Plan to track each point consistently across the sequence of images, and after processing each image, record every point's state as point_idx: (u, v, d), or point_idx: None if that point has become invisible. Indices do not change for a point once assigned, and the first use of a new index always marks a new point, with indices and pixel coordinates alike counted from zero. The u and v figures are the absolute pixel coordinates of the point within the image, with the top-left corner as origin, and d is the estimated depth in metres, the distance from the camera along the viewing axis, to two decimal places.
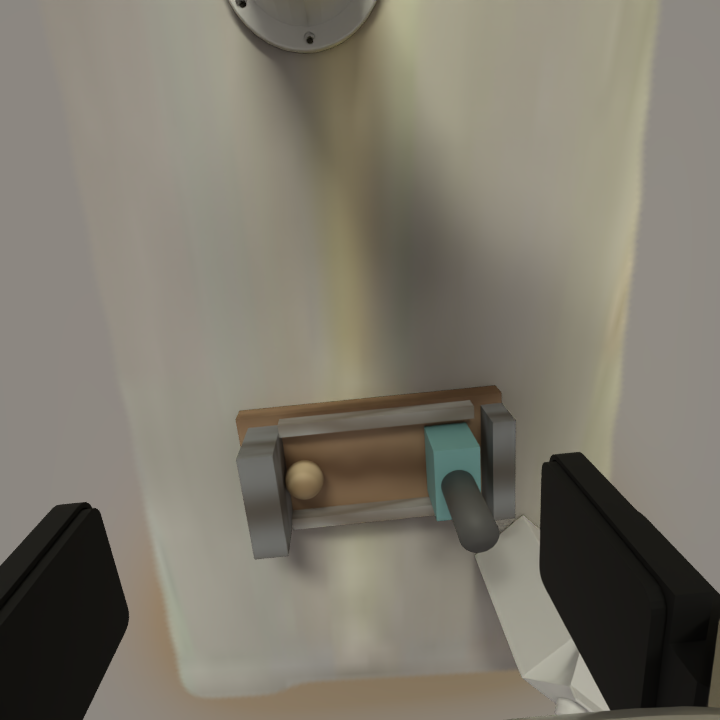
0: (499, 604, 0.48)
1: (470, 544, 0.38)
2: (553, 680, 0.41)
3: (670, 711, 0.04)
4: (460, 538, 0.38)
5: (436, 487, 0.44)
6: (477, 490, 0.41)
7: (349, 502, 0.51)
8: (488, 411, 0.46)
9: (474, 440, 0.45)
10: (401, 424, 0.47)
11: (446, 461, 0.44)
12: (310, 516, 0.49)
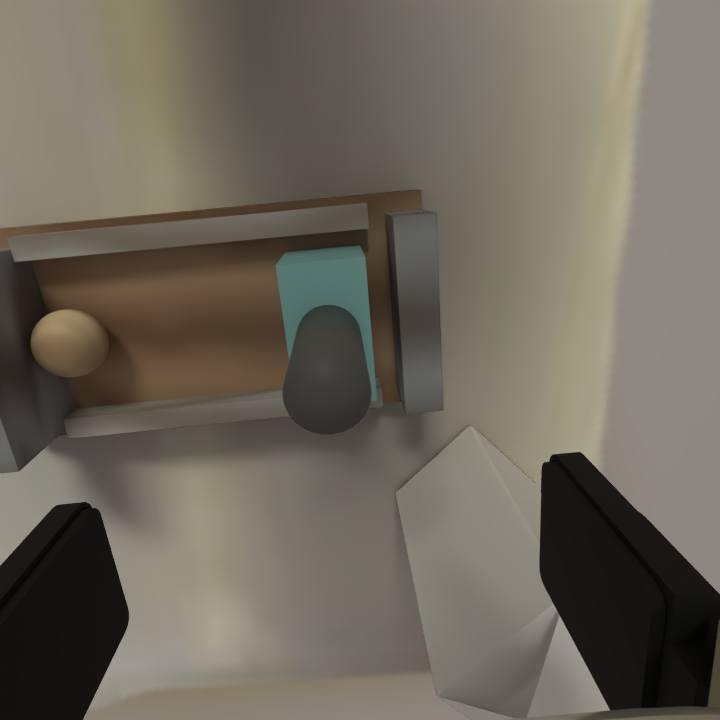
0: (418, 562, 0.28)
1: (308, 414, 0.17)
2: (498, 703, 0.21)
3: (670, 711, 0.04)
4: (285, 399, 0.17)
5: (288, 340, 0.24)
6: (349, 326, 0.21)
7: (170, 395, 0.30)
8: (393, 214, 0.26)
9: (360, 253, 0.24)
10: (237, 238, 0.26)
11: (303, 286, 0.23)
12: (96, 414, 0.29)
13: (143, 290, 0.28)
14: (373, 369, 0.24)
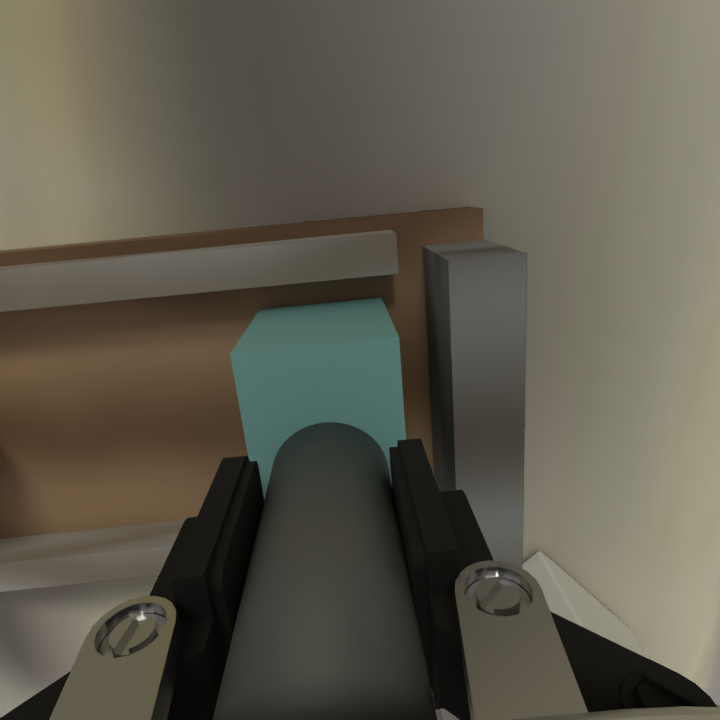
0: None
1: None
2: None
3: (670, 711, 0.04)
4: None
5: None
6: (372, 495, 0.10)
7: (84, 525, 0.19)
8: (441, 250, 0.15)
9: (387, 325, 0.13)
10: (175, 291, 0.15)
11: (282, 390, 0.12)
12: None
13: (31, 369, 0.17)
14: None
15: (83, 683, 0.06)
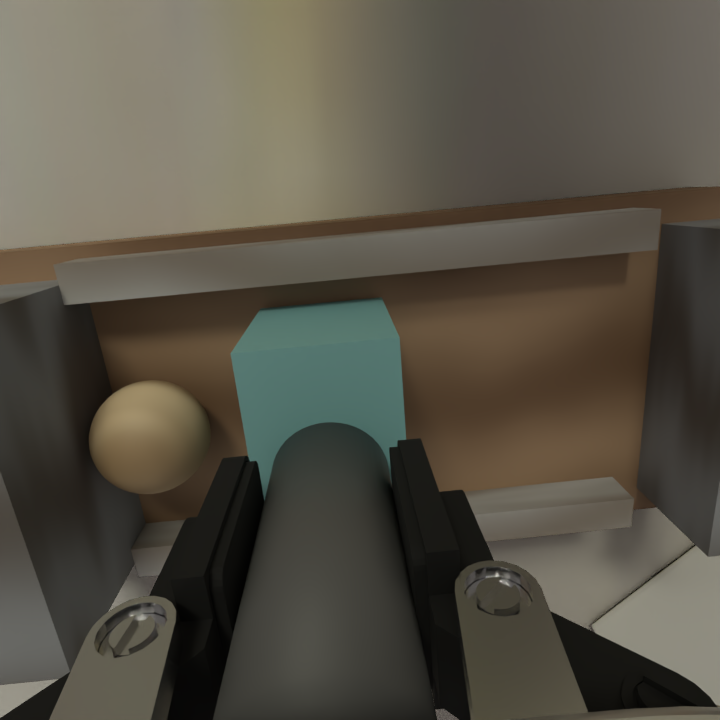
0: None
1: None
2: None
3: (670, 711, 0.04)
4: None
5: None
6: (372, 495, 0.10)
7: None
8: (705, 225, 0.15)
9: (387, 325, 0.13)
10: (438, 266, 0.15)
11: (283, 390, 0.12)
12: None
13: None
14: None
15: (83, 683, 0.06)
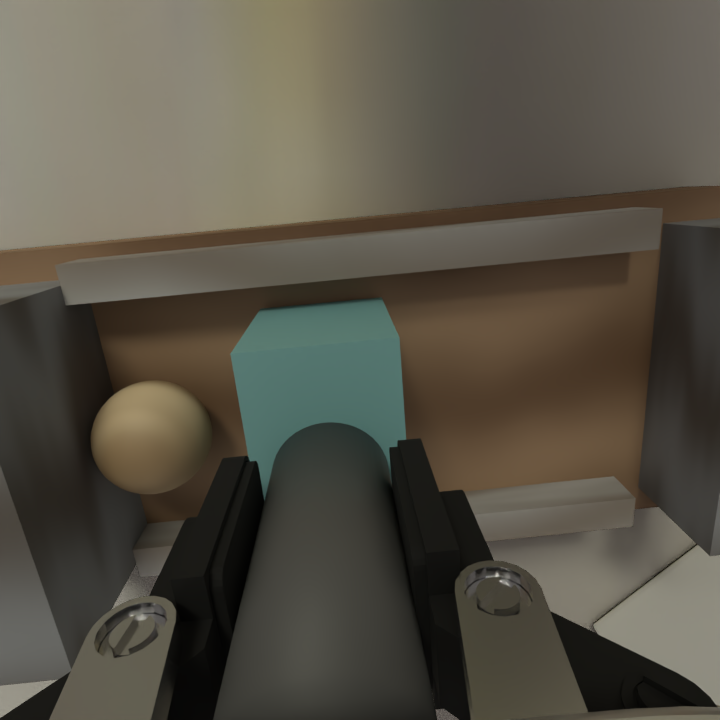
0: None
1: None
2: None
3: (670, 711, 0.04)
4: None
5: None
6: (373, 495, 0.10)
7: None
8: (706, 225, 0.15)
9: (387, 325, 0.13)
10: (439, 266, 0.15)
11: (283, 391, 0.12)
12: None
13: None
14: None
15: (83, 683, 0.06)
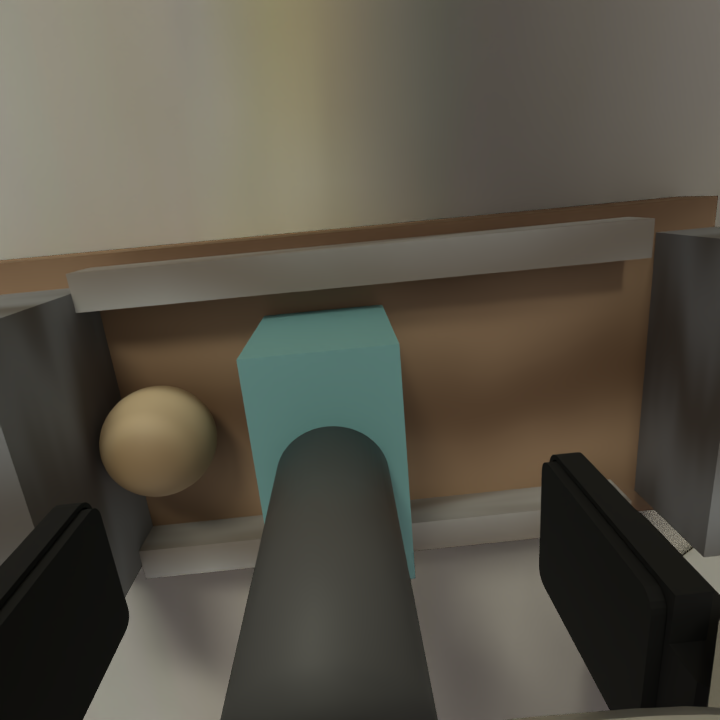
0: None
1: None
2: None
3: (670, 711, 0.04)
4: None
5: (261, 485, 0.13)
6: (373, 495, 0.10)
7: None
8: (697, 234, 0.16)
9: (388, 332, 0.14)
10: (438, 274, 0.16)
11: (287, 395, 0.13)
12: (189, 542, 0.19)
13: None
14: (410, 529, 0.14)
15: None
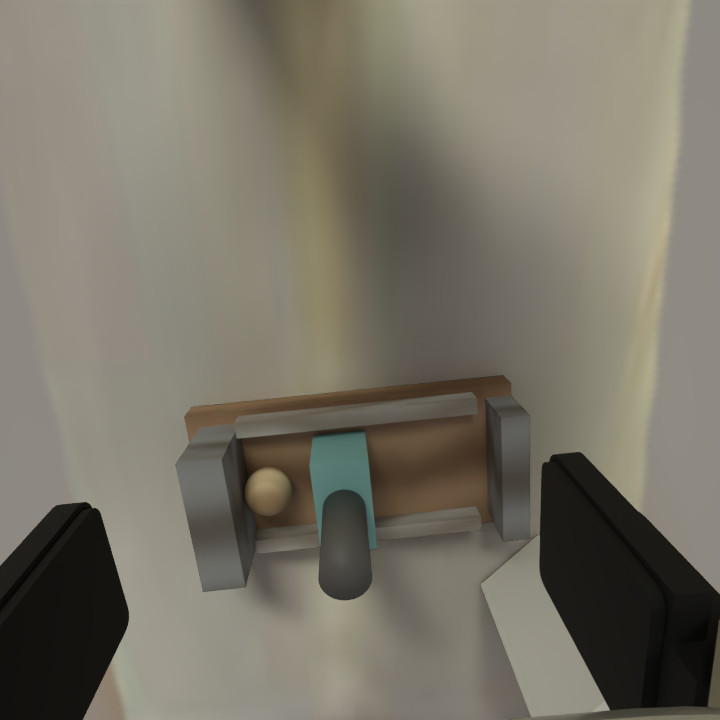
0: (511, 647, 0.39)
1: (334, 588, 0.29)
2: None
3: (669, 711, 0.04)
4: (320, 581, 0.28)
5: (317, 511, 0.35)
6: (358, 516, 0.32)
7: None
8: (495, 405, 0.37)
9: (365, 452, 0.35)
10: (387, 421, 0.38)
11: (327, 478, 0.35)
12: (277, 536, 0.40)
13: None
14: (374, 528, 0.36)
15: None
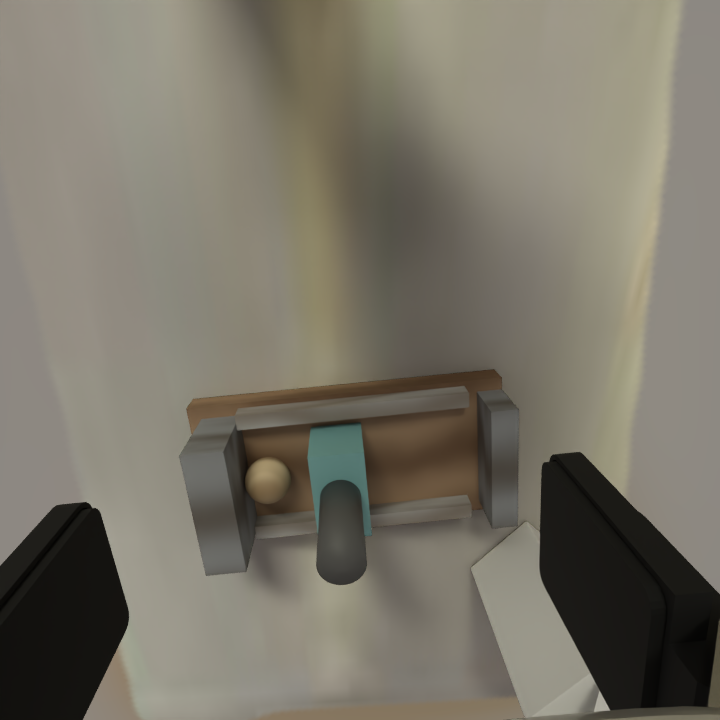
0: (498, 627, 0.41)
1: (330, 574, 0.30)
2: None
3: (670, 711, 0.04)
4: (317, 567, 0.30)
5: (314, 500, 0.37)
6: (354, 505, 0.34)
7: None
8: (486, 399, 0.39)
9: (360, 444, 0.37)
10: (382, 414, 0.39)
11: (324, 469, 0.36)
12: (276, 523, 0.42)
13: None
14: (369, 516, 0.37)
15: None
